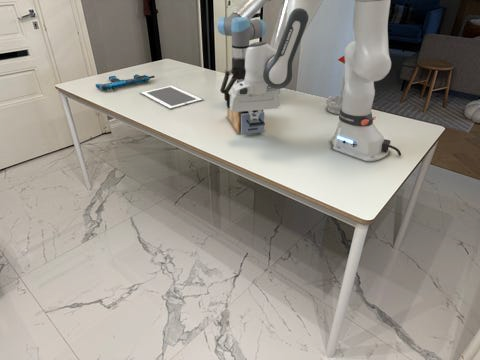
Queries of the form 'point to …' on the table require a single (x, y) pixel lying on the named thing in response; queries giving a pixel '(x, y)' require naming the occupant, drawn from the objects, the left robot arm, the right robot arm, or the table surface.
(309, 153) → the table surface
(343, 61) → the flag stand
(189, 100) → the tablet
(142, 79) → the submachine gun
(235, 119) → the cabinet
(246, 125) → the drawer
